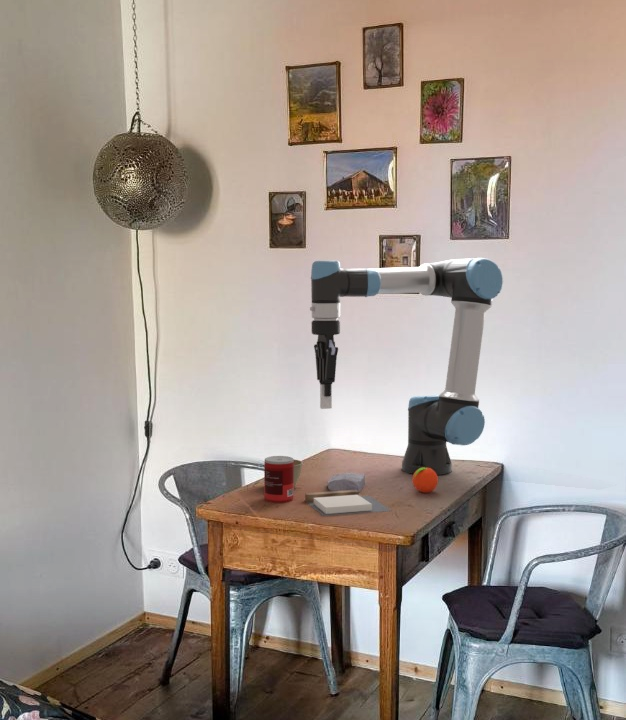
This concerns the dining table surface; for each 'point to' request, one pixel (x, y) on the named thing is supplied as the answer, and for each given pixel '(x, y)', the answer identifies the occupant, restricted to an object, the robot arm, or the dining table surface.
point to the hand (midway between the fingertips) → (325, 408)
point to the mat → (375, 508)
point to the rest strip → (329, 494)
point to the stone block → (346, 482)
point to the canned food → (279, 479)
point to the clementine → (425, 479)
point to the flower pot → (297, 470)
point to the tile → (342, 504)
